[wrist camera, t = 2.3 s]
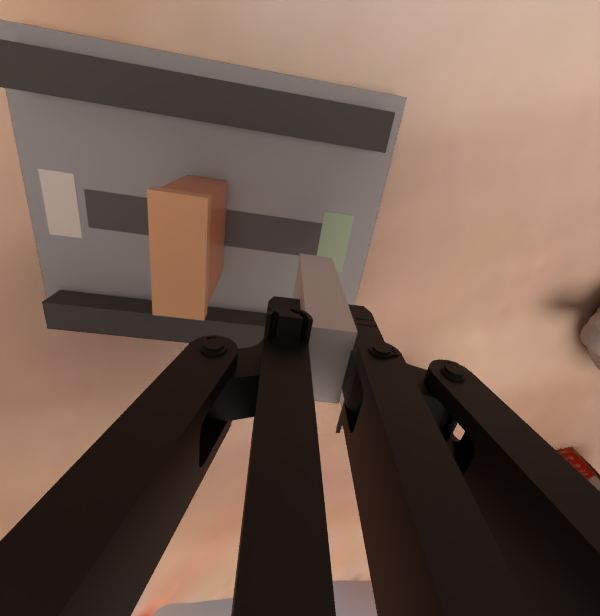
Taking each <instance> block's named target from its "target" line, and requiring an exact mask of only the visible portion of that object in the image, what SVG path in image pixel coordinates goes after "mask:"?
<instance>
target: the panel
mask: <svg viewBox="0 0 600 616" xmlns="http://www.w3.org/2000/svg"><path fill="white" fill-rule="evenodd" d="M0 39H3V40H8V41H14V42H19V43H24V44H30V45H35V46H40V47H46V48H51V49H57V50H62V51H67V52H73V53H78V54H84V55H89V56H94V57H100V58H105V59H111V60H116V61H121V62H127V63H132V64H137V65H143V66H148V67H154V68H159V69H164V70H170V71H175V72H181V73H186V74H191V75H197V76H202V77H207V78H213V79H218V80H224V81H229V82H234V83H240V84H245V85H251V86H256V87H261V88H267V89H272V90H277V91H283V92H288V93H294V94H299V95H304V96H310V97H315V98H321V99H326V100H331V101H337V102H342V103H347V104H353V105H358V106H364V107H369V108H374V109H380V110H385V111H391V112H396V113H395V117H394V121H393V125H392V129H391V133H390V137H389V141H388V145H387V149H386V153H382V152H376V151H370V150H364V149H359V148H353V147H347V146H341V145H335V144H329V143H324V142H318V141H312V140H306V139H300V138H295V137H289V136H283V135H277V134H271V133H265V132H260V131H254V130H248V129H242V128H236V127H230V126H225V125H219V124H213V123H207V122H201V121H195V120H190V119H184V118H178V117H172V116H166V115H161V114H155V113H149V112H143V111H137V110H131V109H126V108H120V107H114V106H108V105H102V104H96V103H91V102H85V101H79V100H73V99H67V98H61V97H56V96H50V95H44V94H38V93H32V92H27V91H21V90H15V89H9V88H5V90H6V95H7V100H8V105H9V110H10V115H11V120H12V125H13V130H14V135H15V140H16V145H17V150H18V156H19V161H20V166H21V171H22V176H23V181H24V186H25V191H26V196H27V201H28V206H29V211H30V216H31V221H32V226H33V231H34V236H35V241H36V246H37V251H38V256H39V262H40V267H41V272H42V277H43V282H44V287H45V292H46V297H47V298H49V297H50V296H52V295H53V294H54V293H56V292H57V291H59V290H68V291H76V292H85V293H94V294H103V295H111V296H120V297H129V298H138V299H146V300H152V293H151V271H150V249H149V227H148V205H147V189H149V188H151V187H162V186H164V185H166V184H168V183H170V182H173V181H175V180H177V179H179V178H182V177H184V176H186V175H194V176H200V177H207V178H213V179H220V180H226V181H228V188H227V206H226V224H225V241H224V259H223V272H222V274H221V277H220V279H219V281H218V284H217V286H216V288H215V291H214V293H213V295H212V297H211V300H210V302H209V304H208V307H216V308H225V309H234V310H243V311H251V312H260V313H267V307H268V301H269V300H270V299H271V298H273V297H274V296H278V297H286V298H293V293H294V287H295V281H296V274H297V268H298V262H299V256H300V254H307V255H315V256H322V257H329V258H332V259H333V262H334V265H335V268H336V271H337V274H338V277H339V280H340V283H341V286H342V288H343V291H344V294H345V297H346V300H347V303H348V304H349V305H355V301H356V297H357V293H358V289H359V285H360V281H361V277H362V273H363V269H364V265H365V261H366V257H367V254H368V250H369V246H370V242H371V238H372V234H373V230H374V226H375V222H376V218H377V214H378V210H379V206H380V202H381V198H382V194H383V190H384V186H385V182H386V178H387V174H388V170H389V166H390V162H391V158H392V154H393V150H394V146H395V142H396V139H397V135H398V131H399V127H400V123H401V119H402V115H403V111H404V107H405V103H406V99H407V97H402V96H396V95H391V94H386V93H381V92H376V91H370V90H365V89H360V88H355V87H349V86H344V85H339V84H334V83H328V82H323V81H318V80H313V79H308V78H302V77H297V76H292V75H287V74H281V73H276V72H271V71H266V70H261V69H255V68H250V67H245V66H240V65H234V64H229V63H224V62H219V61H214V60H208V59H203V58H198V57H193V56H187V55H182V54H177V53H172V52H166V51H161V50H156V49H151V48H146V47H140V46H135V45H130V44H125V43H119V42H114V41H109V40H104V39H99V38H93V37H88V36H83V35H78V34H72V33H67V32H62V31H57V30H51V29H46V28H41V27H36V26H31V25H25V24H20V23H15V22H10V21H4V20H0Z"/></svg>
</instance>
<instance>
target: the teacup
mask: <svg viewBox="0 0 600 616" xmlns="http://www.w3.org/2000/svg"><path fill="white" fill-rule="evenodd" d="M580 339H581V341H582V343H583V344H584V345H585V346H586V347H587V348H588V352H589V355H590V357H591V359H592V361H593V362H594V364H595V365H596V366H597V368H598V369H599V370H600V307H599V308H598V309H597V311H596V313H595V314H594V315H593V316H592V317H591V318H590V319H589V321H588V323H586V325H585V326H584V327H583V329H582V331H581V333H580Z"/></svg>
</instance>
